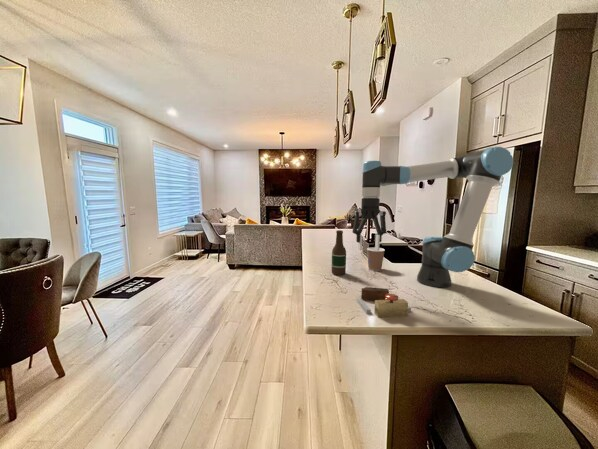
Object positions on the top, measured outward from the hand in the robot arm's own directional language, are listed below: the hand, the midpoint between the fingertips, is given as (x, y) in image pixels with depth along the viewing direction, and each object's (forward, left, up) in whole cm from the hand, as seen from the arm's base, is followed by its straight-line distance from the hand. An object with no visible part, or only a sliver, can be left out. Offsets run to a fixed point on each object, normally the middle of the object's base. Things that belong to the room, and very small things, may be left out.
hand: (368, 249), depth 110 cm
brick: (0, +9, -19) cm, 22 cm away
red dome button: (0, +23, -19) cm, 30 cm away
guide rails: (0, +16, -19) cm, 25 cm away
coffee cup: (-18, -34, -19) cm, 43 cm away
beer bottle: (+6, -27, -19) cm, 33 cm away
